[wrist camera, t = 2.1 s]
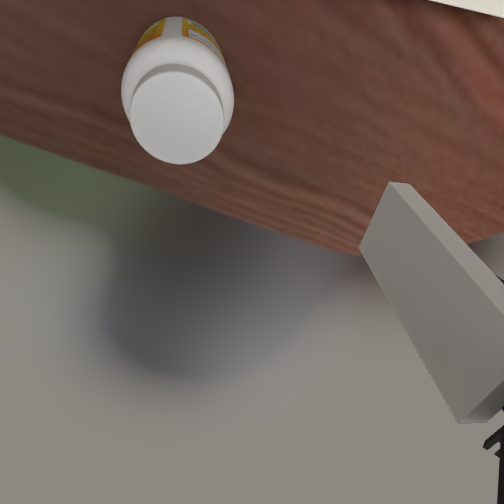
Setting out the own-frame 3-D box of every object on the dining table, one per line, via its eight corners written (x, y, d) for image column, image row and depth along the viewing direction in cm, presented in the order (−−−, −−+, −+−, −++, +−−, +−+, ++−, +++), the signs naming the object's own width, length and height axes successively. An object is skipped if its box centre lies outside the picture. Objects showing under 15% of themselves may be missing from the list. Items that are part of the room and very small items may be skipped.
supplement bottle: (144, 111, 24) (125, 183, 17) (127, 15, 21) (94, 52, 14) (225, 108, 25) (241, 176, 18) (222, 14, 22) (240, 50, 14)
